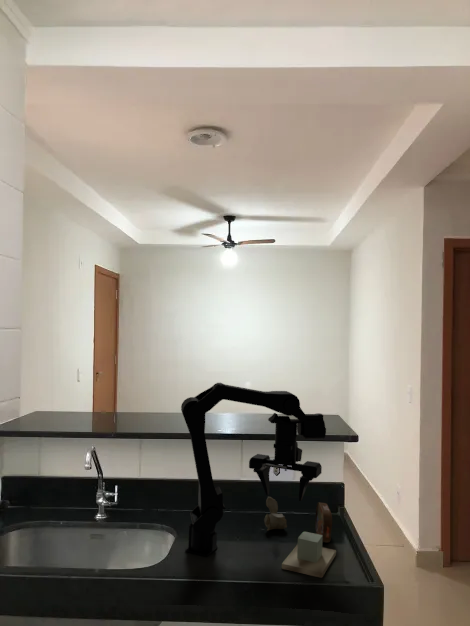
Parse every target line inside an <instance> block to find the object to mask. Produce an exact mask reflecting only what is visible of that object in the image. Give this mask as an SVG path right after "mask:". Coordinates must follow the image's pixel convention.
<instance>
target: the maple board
mask: <svg viewBox="0 0 470 626" xmlns="http://www.w3.org/2000/svg"><path fill="white" fill-rule="evenodd" d="M297 548H298V543H297V544H296V546H295V547H294V548H293V550H291V552H290V553H289V554H288V556H286V558H285V559H284V560H283V562H282V563H281V569H282V570H285V571H291V572H295V573H300V574H304V575H308V576H311V577H316V578H321V579H322V578H323V577H324V576H325V573H326V571H327V570H328V569H329V567H330V566H331V564H332V562H333V560H334V558H335V557H336V555H337V550H336V549H332V548H327V547H324V546H322V556H321V557H320V559H319V560H318V562H317V563H315V562H311V561H306V560H302V559H297Z"/></svg>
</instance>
